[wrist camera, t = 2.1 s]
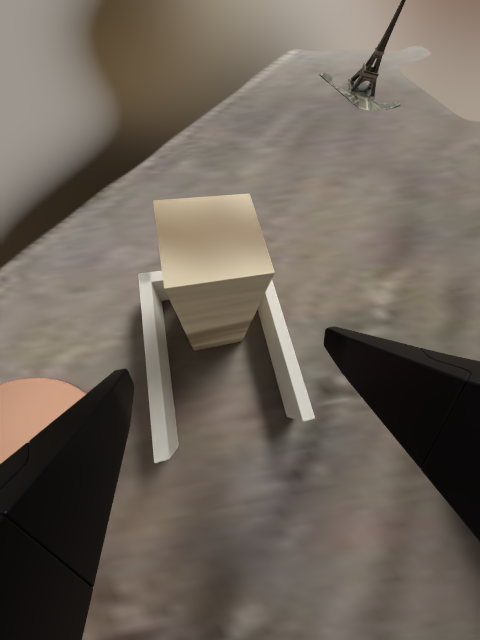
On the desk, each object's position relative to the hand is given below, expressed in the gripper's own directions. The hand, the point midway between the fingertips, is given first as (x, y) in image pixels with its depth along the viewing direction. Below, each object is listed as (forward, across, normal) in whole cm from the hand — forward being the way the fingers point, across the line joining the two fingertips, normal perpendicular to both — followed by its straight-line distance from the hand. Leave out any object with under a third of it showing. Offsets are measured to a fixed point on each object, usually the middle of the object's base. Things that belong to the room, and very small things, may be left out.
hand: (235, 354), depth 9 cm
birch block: (+12, 0, +4) cm, 13 cm away
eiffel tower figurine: (+44, -38, -26) cm, 63 cm away
